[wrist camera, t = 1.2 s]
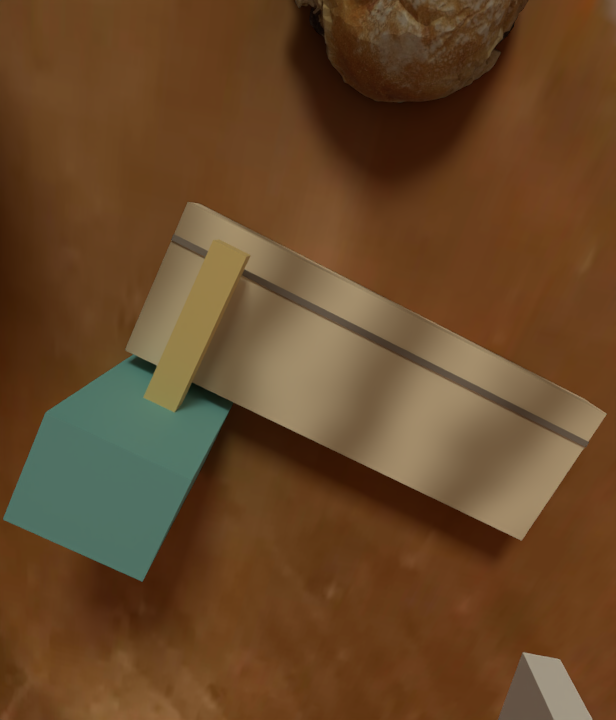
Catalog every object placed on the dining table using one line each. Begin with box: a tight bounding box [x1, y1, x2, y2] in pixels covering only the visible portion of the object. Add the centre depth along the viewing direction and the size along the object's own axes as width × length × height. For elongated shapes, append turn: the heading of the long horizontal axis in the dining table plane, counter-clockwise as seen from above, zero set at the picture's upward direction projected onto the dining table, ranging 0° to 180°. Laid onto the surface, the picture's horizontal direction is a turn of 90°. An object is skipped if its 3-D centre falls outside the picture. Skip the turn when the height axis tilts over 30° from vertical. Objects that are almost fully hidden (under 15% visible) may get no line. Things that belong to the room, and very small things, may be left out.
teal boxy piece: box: [3, 239, 251, 582], centre depth 25 cm, size 6×13×10 cm, turn 154°
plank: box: [125, 202, 606, 541], centre depth 29 cm, size 23×8×3 cm, turn 63°
